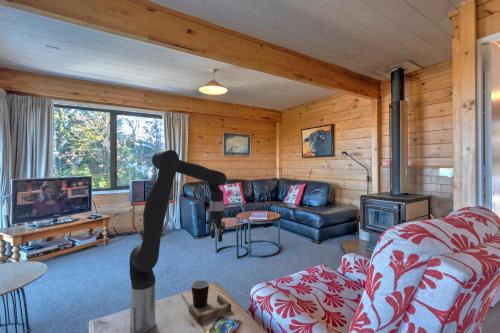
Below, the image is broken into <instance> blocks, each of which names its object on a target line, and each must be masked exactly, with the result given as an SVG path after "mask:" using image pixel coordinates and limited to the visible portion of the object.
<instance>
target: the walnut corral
mask: <svg viewBox="0 0 500 333" xmlns="http://www.w3.org/2000/svg"><path fill="white" fill-rule="evenodd" d="M216 302H217V303H218V304H219V306H216V307H213V308H210V309H208V310H206V311H202V312H200V311H199V310H198V309H197V308H195V307H194V306H193V303H191V304H189V305H188V312H189V314H190V315H191V316H192V317H193V318H194V319H195V321H196V322H197V323H198V324H202V323H204V322H207V321H209V320H212V319H215V318H217V317H219V316H220V317H221V316H222V315H225V314H227V313H229V312H232V304H231V303H230V302H228V300H226V299H225V297H223V296H222V295H221V294H217V295H216Z"/></svg>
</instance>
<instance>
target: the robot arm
mask: <svg viewBox="0 0 500 333" xmlns="http://www.w3.org/2000/svg"><path fill="white" fill-rule="evenodd" d="M151 163H152V166H154V168H155V169H157V170H158V174H157V176H156V177H157V178H156V180H155V182H154V185H153V186H152V188H151V189H150V191H149V193H148V194H147V198H146V200H145V202H144V208H143V212H142V213H143V214H142V219H143V220H142V223H143V224H142V225H143V236H142V242H141V244H138V245H136V246H135V247H134V248H133V249H132V250H131V252H130V253H129V254H130V255H129V278H130V284H131V287H130V288H131V289H130V290H131V294H130V295H131V300H130V302H131V303H130V304H129V305H130V306H129V308H130V310H129V312H130V313H129V315H130V316H129V318H130V319H129V325H130V329H131V333H146V332H148V331H151V330H152V329H153V328H154V327H155V326H156V275H155V274H154V270H153V269H154V268H155V266H156V265H157V263H158V260H159V256H160V255H159V254H160V249H161V248H160V247H161V238H162V233H163V228H164V225H165V219H166V215H167V213H168V212H167V211H168V206H169V201H170V197H171V192H172V187H173V183H174V179H175V177H176V174H177V173H178V174H181V175H184V176H187V177H191V178H193V179H194V180H195V179H196V180H199V181H202V182H207V185H208V189H209V192H210V195H209V196H210V201H209V202H210V203H209V222H208V229H209V230H210V238H211V239H215V238H216V232H217V242H218V243H222V242H223V235H224V234H226V229H225V228H226V224H225V223H226V222H225V221H222V220H223V219H224V217H225V203H224V200H225V199H224V191H223V190H221V189H220V186H224V185H225V184H226V182H227V181H228V178H227V174H225V173H224V172H222V171H219V170H215V169H210V168H208V167H205V166H203V165H200V164H197V163H192V162H188V161H184V160H181V159H180V156H179V154H178V153H177V152H176V150H173V149H161V150H159V151H157V152H154V154H153V155H152V158H151Z"/></svg>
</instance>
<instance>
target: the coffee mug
mask: <svg viewBox="0 0 500 333" xmlns="http://www.w3.org/2000/svg"><path fill="white" fill-rule="evenodd" d="M190 285H191V286H190V287H191V296H192V305H193V306H194V307H195V308H196V309H197V310H198V309H200V310H201V309H204V308H206V307H207V306H208V298H209V288H210V282H209V281H207V280H203V279H202V280H201V279H199V280H196V281H193V282H192V283H191V284H190Z"/></svg>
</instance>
